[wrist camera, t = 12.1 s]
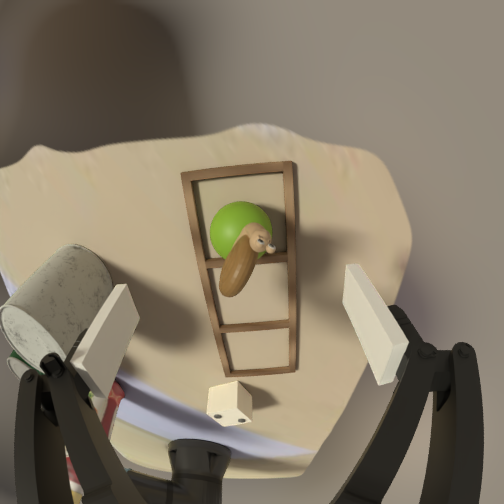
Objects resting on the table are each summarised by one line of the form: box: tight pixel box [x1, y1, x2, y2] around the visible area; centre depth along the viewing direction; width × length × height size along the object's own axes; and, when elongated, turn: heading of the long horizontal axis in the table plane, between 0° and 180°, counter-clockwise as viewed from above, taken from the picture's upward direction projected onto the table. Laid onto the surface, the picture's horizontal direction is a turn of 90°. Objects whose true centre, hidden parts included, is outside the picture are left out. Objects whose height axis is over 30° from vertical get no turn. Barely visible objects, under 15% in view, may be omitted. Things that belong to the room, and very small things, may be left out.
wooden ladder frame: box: [181, 161, 296, 377], centre depth 30 cm, size 28×10×1 cm, turn 5°
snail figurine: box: [210, 201, 276, 297], centre depth 21 cm, size 5×6×12 cm
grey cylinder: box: [0, 244, 113, 374], centre depth 24 cm, size 10×10×12 cm
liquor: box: [65, 380, 125, 504], centre depth 27 cm, size 7×7×28 cm
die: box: [207, 381, 252, 427], centre depth 37 cm, size 5×5×5 cm
